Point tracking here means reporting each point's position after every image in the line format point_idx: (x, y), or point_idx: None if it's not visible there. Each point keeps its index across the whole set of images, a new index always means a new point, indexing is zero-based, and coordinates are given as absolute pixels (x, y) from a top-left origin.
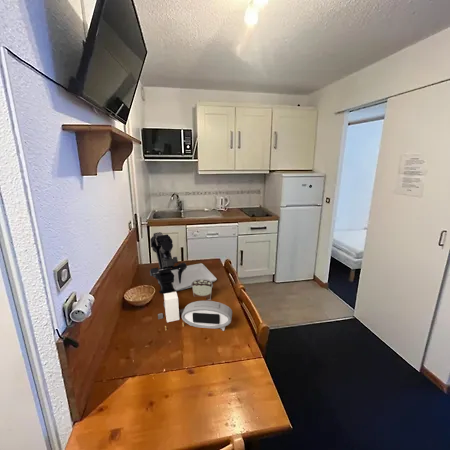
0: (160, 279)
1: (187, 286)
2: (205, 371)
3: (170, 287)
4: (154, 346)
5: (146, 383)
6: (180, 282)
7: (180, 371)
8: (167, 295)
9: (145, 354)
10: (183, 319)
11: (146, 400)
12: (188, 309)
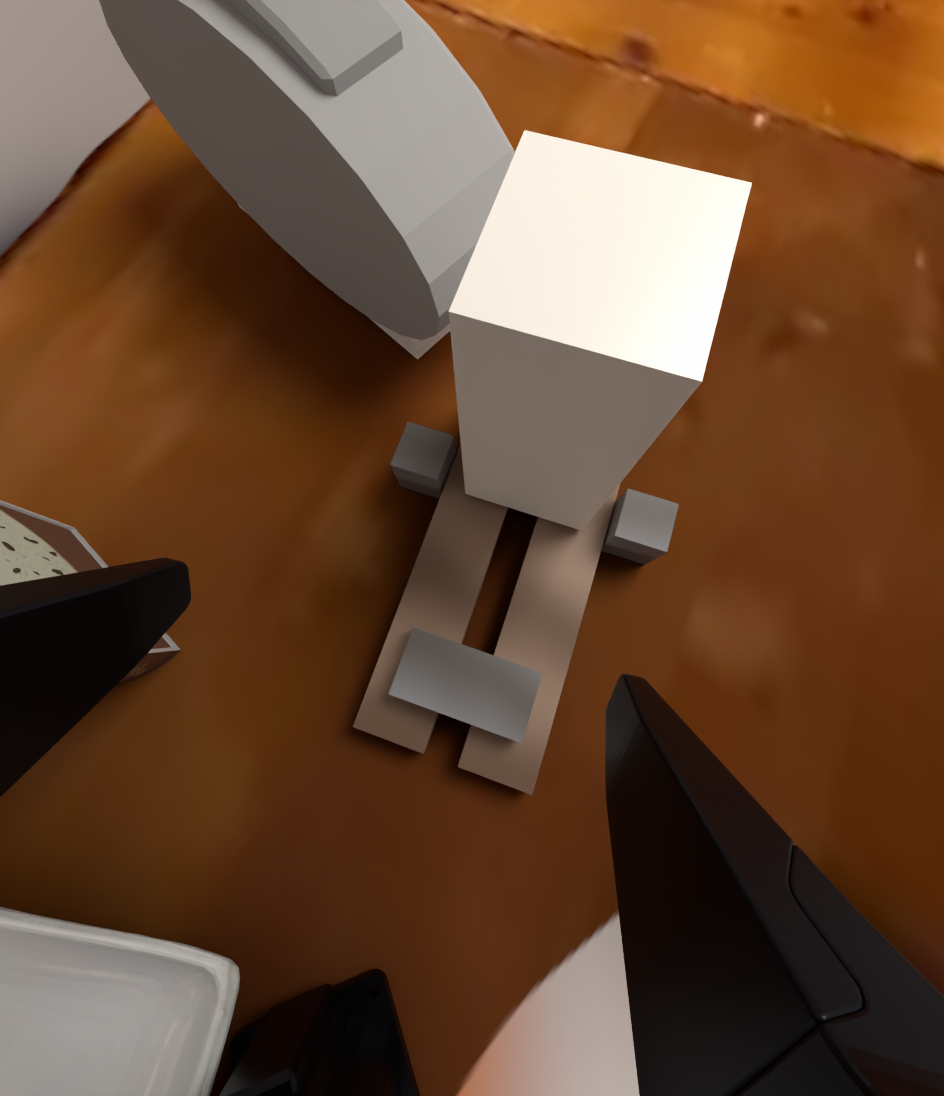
0: (760, 871)
1: (49, 922)
2: (573, 20)
3: (268, 1063)
4: (766, 292)
5: (869, 100)
6: (155, 559)
7: (685, 74)
8: (658, 284)
9: (838, 263)
10: None
11: (885, 35)
12: (469, 94)
